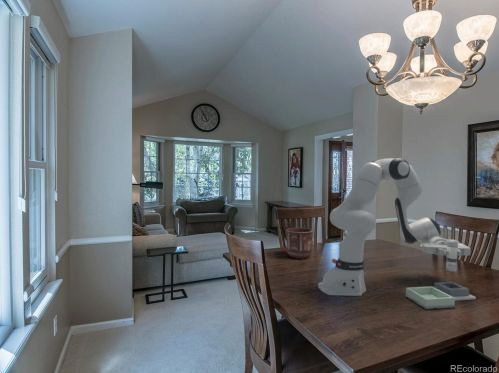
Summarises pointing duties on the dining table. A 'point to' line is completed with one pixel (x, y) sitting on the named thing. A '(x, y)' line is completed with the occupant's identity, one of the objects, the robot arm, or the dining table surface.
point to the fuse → (452, 255)
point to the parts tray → (430, 297)
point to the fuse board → (454, 290)
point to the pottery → (299, 242)
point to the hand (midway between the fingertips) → (453, 253)
